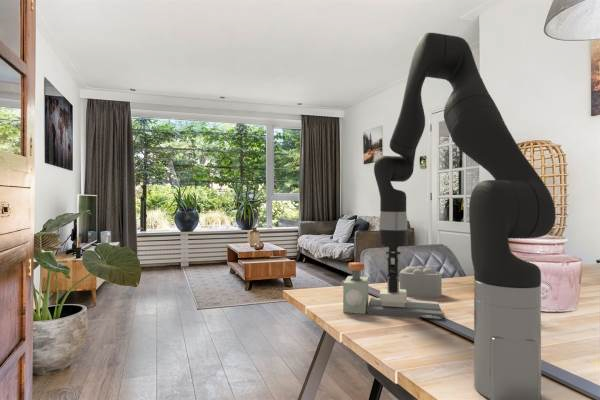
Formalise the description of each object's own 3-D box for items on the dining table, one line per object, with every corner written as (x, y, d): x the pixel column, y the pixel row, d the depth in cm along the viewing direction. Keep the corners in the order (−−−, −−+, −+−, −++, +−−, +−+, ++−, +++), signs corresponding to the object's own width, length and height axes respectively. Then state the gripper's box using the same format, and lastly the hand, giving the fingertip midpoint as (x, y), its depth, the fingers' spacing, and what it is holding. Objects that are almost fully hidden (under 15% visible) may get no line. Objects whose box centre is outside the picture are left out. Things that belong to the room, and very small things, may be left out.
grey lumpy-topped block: (403, 288, 133) (403, 263, 133) (442, 292, 128) (442, 266, 128) (398, 295, 123) (398, 268, 123) (440, 299, 118) (440, 271, 118)
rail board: (442, 319, 97) (442, 308, 97) (367, 313, 101) (367, 302, 101) (438, 309, 106) (438, 298, 106) (370, 304, 111) (370, 294, 111)
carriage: (406, 308, 100) (406, 276, 100) (379, 306, 102) (379, 275, 102) (406, 302, 107) (406, 271, 107) (380, 300, 109) (380, 270, 109)
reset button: (363, 288, 105) (363, 265, 105) (347, 288, 106) (347, 264, 106) (364, 285, 109) (365, 262, 109) (349, 284, 110) (349, 262, 110)
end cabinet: (365, 314, 101) (365, 284, 101) (343, 312, 103) (343, 282, 103) (368, 304, 111) (368, 277, 111) (348, 302, 113) (348, 275, 113)
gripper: (407, 230, 97) (407, 297, 97) (406, 227, 111) (406, 286, 111) (377, 229, 99) (377, 295, 99) (380, 226, 113) (380, 284, 112)
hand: (393, 290), depth 105 cm, fingers closed on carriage, 3 cm apart
